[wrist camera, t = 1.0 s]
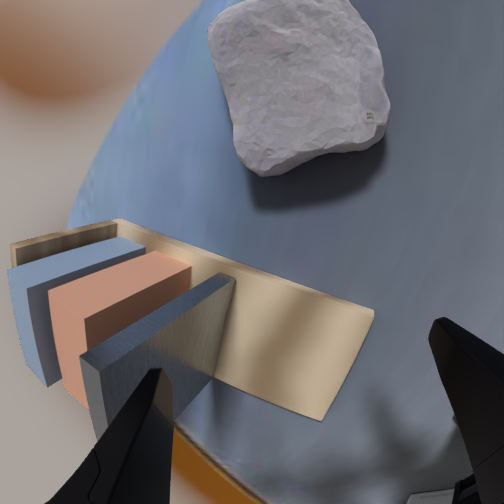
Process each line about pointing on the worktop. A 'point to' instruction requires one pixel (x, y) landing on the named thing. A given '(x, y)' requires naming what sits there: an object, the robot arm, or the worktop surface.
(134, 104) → the worktop surface
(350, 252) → the worktop surface
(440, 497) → the tea box
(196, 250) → the wooden book rack
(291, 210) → the worktop surface
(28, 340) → the book
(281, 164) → the stone block
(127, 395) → the grey flat rectangular panel
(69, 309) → the book
